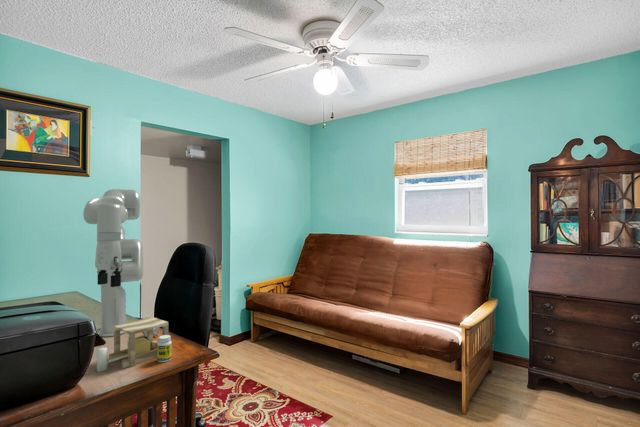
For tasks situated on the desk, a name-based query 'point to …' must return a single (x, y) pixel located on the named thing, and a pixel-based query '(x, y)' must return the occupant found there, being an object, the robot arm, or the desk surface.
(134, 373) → the desk surface
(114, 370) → the desk surface
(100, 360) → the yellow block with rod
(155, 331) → the game die
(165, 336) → the supplement bottle
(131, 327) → the birch shelf
